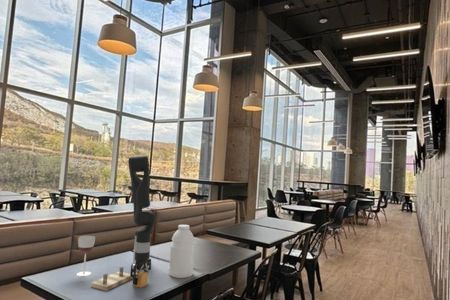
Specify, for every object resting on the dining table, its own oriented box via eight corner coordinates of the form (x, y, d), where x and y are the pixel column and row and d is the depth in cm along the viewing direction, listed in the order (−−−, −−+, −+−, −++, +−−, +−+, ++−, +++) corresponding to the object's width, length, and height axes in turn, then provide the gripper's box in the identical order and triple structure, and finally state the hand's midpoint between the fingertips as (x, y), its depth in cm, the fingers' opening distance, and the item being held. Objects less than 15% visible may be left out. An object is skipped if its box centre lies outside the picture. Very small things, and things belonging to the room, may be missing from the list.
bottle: (176, 280, 169) (179, 228, 171) (164, 272, 179) (167, 224, 181) (197, 275, 178) (200, 226, 179) (184, 268, 188) (187, 222, 190)
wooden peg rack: (118, 274, 171) (119, 263, 172) (133, 278, 168) (133, 267, 168) (90, 286, 153) (91, 274, 153) (106, 290, 149) (107, 278, 150)
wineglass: (75, 271, 172) (79, 235, 174) (92, 270, 175) (95, 235, 177) (74, 276, 165) (77, 239, 166) (92, 275, 168) (95, 238, 169)
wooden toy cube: (138, 282, 162) (139, 270, 163) (147, 284, 160) (148, 272, 161) (132, 285, 157) (133, 273, 158) (141, 287, 156) (141, 275, 156)
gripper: (144, 246, 168) (142, 276, 167) (127, 252, 155) (125, 285, 154) (156, 248, 165) (154, 279, 164) (140, 254, 152) (137, 288, 151)
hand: (140, 282), depth 159 cm, fingers open, 8 cm apart
